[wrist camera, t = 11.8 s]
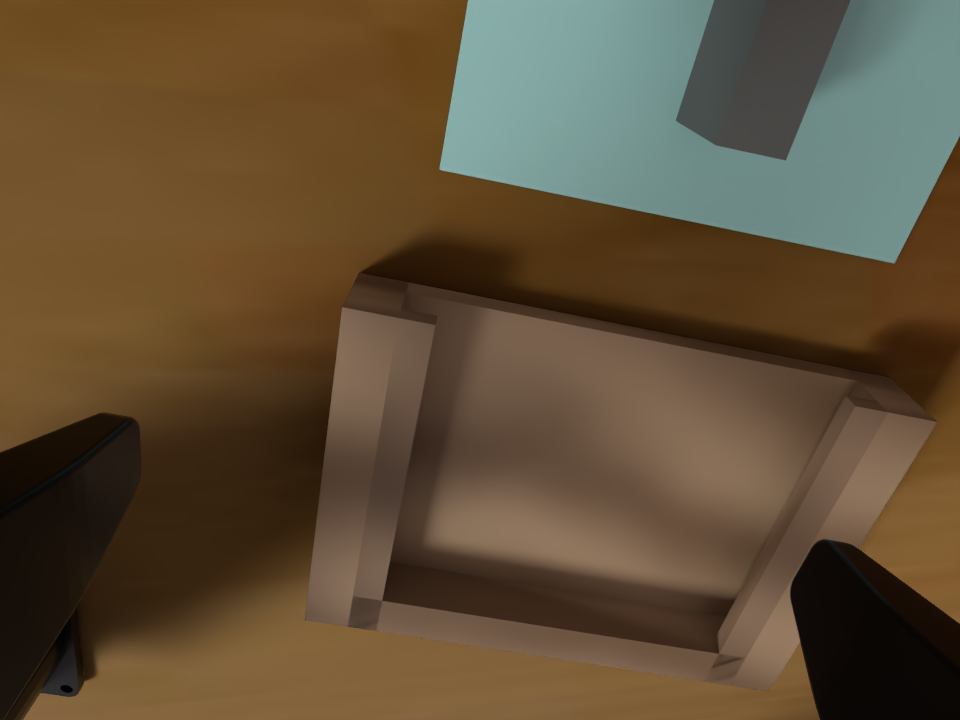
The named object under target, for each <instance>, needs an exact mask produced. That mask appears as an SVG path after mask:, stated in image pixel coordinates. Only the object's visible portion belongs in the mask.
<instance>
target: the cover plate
mask: <svg viewBox="0 0 960 720" xmlns="http://www.w3.org/2000/svg"><path fill="white" fill-rule="evenodd" d="M959 137H960V0H468V5H467V11H466V17H465V23H464V29H463V35H462V40H461V46H460V52H459V58H458V64H457V70H456V76H455V82H454V87H453V93H452V99H451V105H450V111H449V117H448V123H447V129H446V134H445V140H444V146H443V152H442V158H441V164H440V170H443V171H448V172H453V173H458V174H463V175H468V176H473V177H477V178H482V179H487V180H492V181H497V182H502V183H506V184H511V185H516V186H521V187H526V188H531V189H536V190H540V191H545V192H550V193H555V194H560V195H565V196H570V197H574V198H579V199H584V200H589V201H594V202H599V203H604V204H608V205H613V206H618V207H623V208H628V209H633V210H638V211H642V212H647V213H652V214H657V215H662V216H667V217H672V218H676V219H681V220H686V221H691V222H696V223H701V224H705V225H710V226H715V227H720V228H725V229H730V230H735V231H739V232H744V233H749V234H754V235H759V236H764V237H769V238H773V239H778V240H783V241H788V242H793V243H798V244H803V245H807V246H812V247H817V248H822V249H827V250H832V251H837V252H841V253H846V254H851V255H856V256H861V257H866V258H870V259H875V260H880V261H885V262H890V263H895V261H896V259H897V257H898V255H899V254H900V252H901V250H902V248H903V246H904V244H905V242H906V240H907V238H908V236H909V234H910V232H911V230H912V228H913V226H914V224H915V222H916V220H917V218H918V216H919V215H920V213H921V211H922V209H923V207H924V205H925V203H926V201H927V199H928V197H929V195H930V193H931V191H932V189H933V187H934V185H935V183H936V181H937V179H938V177H939V176H940V174H941V172H942V170H943V168H944V166H945V164H946V162H947V160H948V158H949V156H950V154H951V152H952V150H953V148H954V146H955V144H956V142H957V140H958V139H959Z"/></svg>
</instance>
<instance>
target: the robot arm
mask: <svg viewBox="0 0 960 720" xmlns="http://www.w3.org/2000/svg"><path fill="white" fill-rule="evenodd" d="M140 475H141V455H140V429H139V425H138V422H137V421H136V420H135V419H134V418H132V417H128V416H122V415H116V414H111V413H99V414H96V415H94V416H91V417H89V418H86V419H83V420H81V421H78V422H76V423H73V424H71V425H68V426H66V427H63V428H61V429H58V430H56V431H53V432H51V433H48V434H46V435H43V436H41V437H38V438H36V439H33V440H31V441H28V442H26V443H23V444H21V445H18V446H15V447H13V448H10V449H8V450H5V451H3V452H0V720H23V719H24V717H25V716H26V714H27V712H28V711H29V709H30V708H31V706H32V705H33V703H34V702H35V700H36V699H37V697H38V696H39V694H40V693H46V694H53V695H60V696H67V697H73V696H76V695H77V694H78V693H79V691H80V690H81V688H82V686H83V684H84V679H83V669H82V660H81V650H80V640H79V631H78V621H77V612H76V607H77V605H78V603H79V602H80V600H81V599H82V597H83V595H84V593H85V591H86V590H87V588H88V586H89V584H90V582H91V580H92V578H93V576H94V574H95V572H96V570H97V568H98V566H99V564H100V562H101V560H102V558H103V556H104V554H105V552H106V550H107V548H108V546H109V544H110V542H111V540H112V538H113V536H114V534H115V532H116V530H117V528H118V526H119V524H120V522H121V520H122V518H123V516H124V514H125V512H126V510H127V508H128V506H129V504H130V502H131V500H132V498H133V496H134V494H135V492H136V489H137V487H138V484H139V480H140ZM790 599H791V604H792V608H793V613H794V617H795V621H796V625H797V630H798V634H799V638H800V642H801V647H802V651H803V655H804V659H805V664H806V668H807V672H808V676H809V681H810V685H811V689H812V693H813V697H814V701H815V704H816V708H817V711H818V715H819V718H820V720H960V624H959V623H958V622H956V621H955V620H954V619H952V618H951V617H950V616H948V615H947V614H946V613H944V612H943V611H942V610H940V609H939V608H938V607H936V606H935V605H933V604H932V603H931V602H929V601H928V600H927V599H925V598H924V597H923V596H921V595H920V594H919V593H917V592H916V591H915V590H913V589H912V588H911V587H909V586H908V585H907V584H905V583H904V582H902V581H901V580H900V579H898V578H897V577H896V576H894V575H893V574H892V573H890V572H889V571H888V570H886V569H885V568H884V567H882V566H881V565H880V564H878V563H877V562H875V561H874V560H873V559H871V558H870V557H869V556H867V555H866V554H865V553H863V552H862V551H861V550H859V549H858V548H857V547H855V546H854V545H852V544H849V543H845V542H840V541H834V540H828V539H822V540H819V541H817V542H816V543H814V545H813V546H812V548H811V549H810V551H809V553H808V554H807V556H806V558H805V560H804V561H803V563H802V565H801V566H800V568H799V570H798V572H797V573H796V575H795V577H794V579H793V581H792V584H791V588H790Z"/></svg>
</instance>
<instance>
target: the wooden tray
mask: <svg viewBox="0 0 960 720" xmlns="http://www.w3.org/2000/svg"><path fill="white" fill-rule="evenodd" d="M936 423H937V421H936V420H935V419H934V418H933V417H931V416H930V415H929V414H928V413H927V412H926V411H925V410H924V409H923V408H922V407H921V406H920V405H919V404H918V403H916V402H915V401H914V400H913V399H912V398H911V397H910V396H909V395H908V394H907V393H906V392H905V391H904V390H903V389H901V388H900V387H899V386H898V385H897V384H896V383H895V382H894V381H893V380H892V379H891V378H890V377H885V376H880V375H875V374H870V373H865V372H860V371H855V370H850V369H845V368H840V367H835V366H830V365H825V364H820V363H815V362H810V361H804V360H799V359H794V358H789V357H784V356H779V355H774V354H769V353H764V352H759V351H754V350H749V349H744V348H739V347H734V346H729V345H723V344H718V343H713V342H708V341H703V340H698V339H693V338H688V337H683V336H678V335H673V334H668V333H663V332H658V331H653V330H648V329H642V328H637V327H632V326H627V325H622V324H617V323H612V322H607V321H602V320H597V319H592V318H587V317H582V316H577V315H572V314H567V313H561V312H556V311H551V310H546V309H541V308H536V307H531V306H526V305H521V304H516V303H511V302H506V301H501V300H496V299H491V298H486V297H480V296H475V295H470V294H465V293H460V292H455V291H450V290H445V289H440V288H435V287H430V286H425V285H420V284H415V283H410V282H405V281H400V280H394V279H389V278H384V277H379V276H374V275H369V274H364V273H359V274H358V276H357V278H356V280H355V282H354V284H353V286H352V288H351V290H350V293H349V295H348V297H347V299H346V301H345V303H344V305H343V307H342V314H341V322H340V330H339V339H338V347H337V355H336V363H335V372H334V380H333V388H332V397H331V405H330V413H329V422H328V430H327V438H326V446H325V455H324V463H323V471H322V480H321V488H320V496H319V505H318V513H317V521H316V529H315V538H314V546H313V554H312V563H311V571H310V579H309V587H308V596H307V604H306V612H305V620H308V621H315V622H321V623H328V624H334V625H341V626H347V627H354V628H360V629H367V630H373V631H380V632H386V633H393V634H399V635H406V636H412V637H419V638H425V639H432V640H438V641H445V642H451V643H458V644H464V645H471V646H477V647H484V648H490V649H497V650H503V651H510V652H516V653H523V654H529V655H536V656H542V657H549V658H555V659H562V660H568V661H575V662H581V663H588V664H594V665H601V666H607V667H614V668H620V669H627V670H633V671H640V672H646V673H653V674H659V675H666V676H672V677H679V678H685V679H692V680H698V681H705V682H711V683H718V684H724V685H731V686H737V687H744V688H750V689H757V690H763V691H769V690H770V689H771V687H772V686H773V684H774V682H775V681H776V679H777V678H778V676H779V674H780V673H781V671H782V670H783V668H784V666H785V665H786V663H787V662H788V660H789V658H790V657H791V655H792V654H793V652H794V650H795V649H796V647H797V646H798V644H799V642H800V638H799V634H798V630H797V625H796V621H795V617H794V613H793V608H792V604H791V599H790V588H791V584H792V581H793V579H794V577H795V575H796V573H797V572H798V570H799V568H800V566H801V565H802V563H803V561H804V560H805V558H806V556H807V554H808V553H809V551H810V549H811V548H812V546H813V545H814V543H816V542H817V541H819V540H822V539H828V540H834V541H840V542H845V543H849V544H852V545H854V546H855V547H857V548H859V546H860V545H861V543H862V542H863V540H864V538H865V537H866V535H867V534H868V532H869V530H870V529H871V527H872V526H873V524H874V522H875V521H876V519H877V518H878V516H879V514H880V513H881V511H882V510H883V508H884V506H885V505H886V503H887V502H888V500H889V499H890V497H891V495H892V494H893V492H894V491H895V489H896V487H897V486H898V484H899V483H900V481H901V479H902V478H903V476H904V475H905V473H906V471H907V470H908V468H909V467H910V465H911V463H912V462H913V460H914V459H915V457H916V455H917V454H918V452H919V451H920V449H921V447H922V446H923V444H924V443H925V441H926V439H927V438H928V436H929V435H930V433H931V431H932V430H933V428H934V427H935V425H936Z"/></svg>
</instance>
